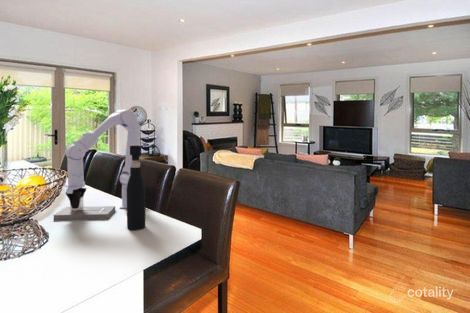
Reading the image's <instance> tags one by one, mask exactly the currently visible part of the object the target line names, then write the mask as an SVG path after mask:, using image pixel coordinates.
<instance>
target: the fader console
mask: <svg viewBox="0 0 470 313" xmlns="http://www.w3.org/2000/svg"><path fill="white" fill-rule="evenodd" d="M83 208H84V209H82V210H81V211H70V206H66V207H64V208H62V209H61V210H59V211H58V212H56V213H55V214H53V221H70V220H71V221H72V220H73V221H76V220H77V221H79V220H82V221H84V220H108V219H109V218H110V217H111V216H112V215H113V214H114V213H115V212H116V206H115V205H114V206H113V205H110V206H109V205H107V206H105V205H104V206H103V205H102V206H83Z"/></svg>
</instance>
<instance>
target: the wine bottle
mask: <svg viewBox="0 0 470 313" xmlns="http://www.w3.org/2000/svg"><path fill="white" fill-rule="evenodd" d="M130 155H132V161H138V162H131V167H130V177H129V180H128V184H127V208H126V225H127V226H126V229H127V230H129V231H139V230H144V229H145V228H146V186H145V181H144V179H143V175H142V167H141V162H140V156H142V146H141V145H139V146H130Z"/></svg>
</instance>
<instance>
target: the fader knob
mask: <svg viewBox="0 0 470 313" xmlns="http://www.w3.org/2000/svg"><path fill="white" fill-rule="evenodd" d="M69 203H70V202H69ZM69 207H70V211H81V210H82V209H84V208H83V207H84V196H80V199H79V206H78V208H77V209H72V207H71V203H70V204H69Z"/></svg>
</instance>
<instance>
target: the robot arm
mask: <svg viewBox="0 0 470 313" xmlns="http://www.w3.org/2000/svg"><path fill="white" fill-rule="evenodd" d="M118 125H120V126H122V127H123V128H124V129H125V130H126V131H127V137H126V147H125V162H124V163H125V164H124V166H123V168H122V170H121V174H120V176H119V182H120V184H121V205H120V206H119V209H127V184H128V180H129V177H130V167H131V162H139V161H132V155H130V146H140V139H141V126H140V123H139V121H138V115H137V114H136V113H135V111H133V110H131V109H130V108H129V109H127V108H126V109H117V110H115V111H114V112H113V113H111V114H110V115H108V117H106V119H104V120H103V121H102V122H101V123H100V124H99V125H98V126H97V127H96V128H95V129H94V130H92V131H86V132H83V133H82V136H81V137H79V138H78V139H77V140H74V141H73V144H70V145H68V146H67V147H66V149H65V151H64V154H65V156H66V157H67V169H66V170H67V184H65V185H64V188H66V189H65V195H66V196H67V198H68V200H69V203H71V207H72V209H77V208H78V206H79V199H80V196H83V197H84V196H85V193H86V191H87V187H86V182H85V178H84V177H85V176H84V175H85V174H84V157H85V156H86V153H87V152H88V151H89V150H90V149H92V148H93V147H94V146H95V145H96V144H97V143H98V142H99V138H100V137H101V136H103V134H105V133H106V132H107V131H108V130H110V129H111V128H113V127H115V126H118Z"/></svg>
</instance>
